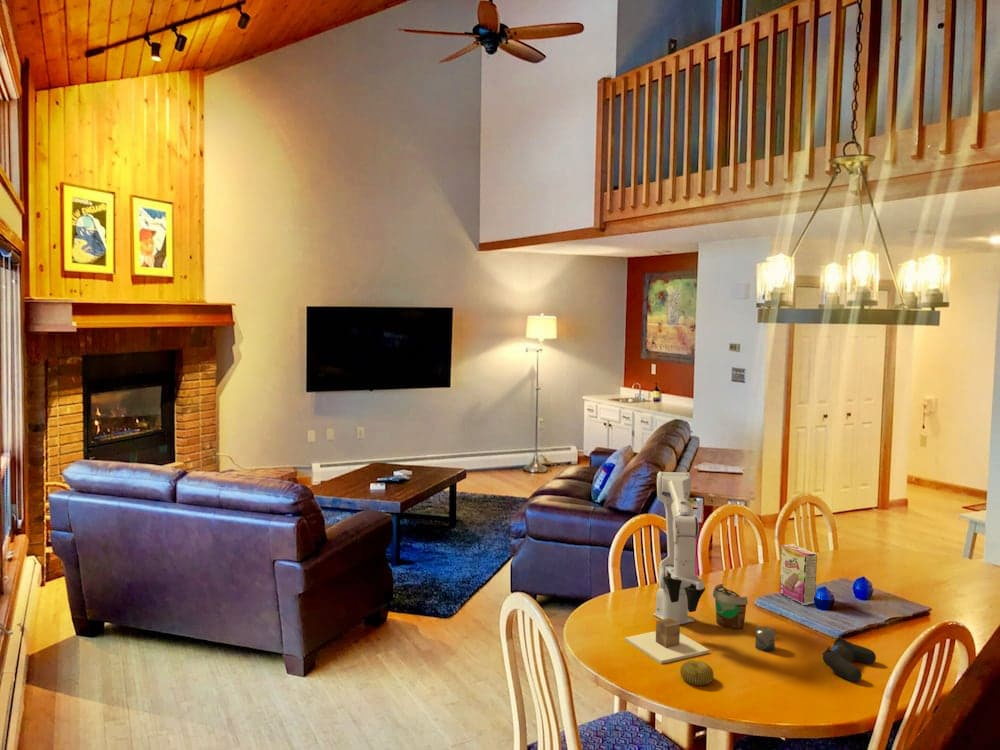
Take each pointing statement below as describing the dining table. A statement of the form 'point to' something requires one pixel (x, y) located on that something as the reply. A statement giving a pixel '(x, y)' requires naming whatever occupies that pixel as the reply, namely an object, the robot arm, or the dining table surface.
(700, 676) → the olive ribbed round piece
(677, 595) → the robot arm
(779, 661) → the dining table surface
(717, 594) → the food container
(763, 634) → the charcoal metal cylinder
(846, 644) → the gaming controller
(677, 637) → the walnut block
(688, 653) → the cream mat
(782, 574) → the candy bar box
